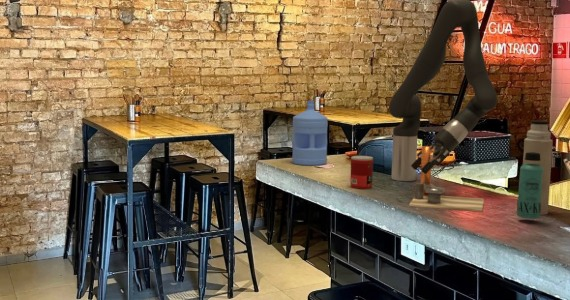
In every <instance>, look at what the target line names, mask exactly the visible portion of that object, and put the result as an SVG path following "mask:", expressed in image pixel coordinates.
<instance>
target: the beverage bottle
mask: <svg viewBox="0 0 570 300" xmlns="http://www.w3.org/2000/svg"><path fill="white" fill-rule="evenodd" d="M525 160H530V161H540V153H535V152H527V153H526V155H525ZM543 170H544V169H543V168H542V167H541V166H540V165H539V164H524V165H523V164H521V166H520V171H519V182H518V190H517V202H516V216H517V217H519V218H522V219H528V220H537V219H540V217H541V215H540V209H541V204H542V202H541V197H542V186H543V185H542V181H543Z"/></svg>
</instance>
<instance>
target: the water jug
mask: <svg viewBox="0 0 570 300" xmlns="http://www.w3.org/2000/svg"><path fill="white" fill-rule="evenodd" d="M306 103H307V104H306V110H304V111H302V112H300V113H298V114H297V115H294V116H293V117H292V143H291V144H292V157H291V162H292V163H293V164H294V165H298V166H310V167H311V166H323V165H326V164H327V163H328V162H327V161H328V158H327V157H328V126H329V125H328V117H327V116H325V115H324V114H322V113H320V112H318V111H316V110H315V104H314V103H315V101H314V100H307V101H306Z"/></svg>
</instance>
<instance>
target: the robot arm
mask: <svg viewBox="0 0 570 300" xmlns="http://www.w3.org/2000/svg"><path fill="white" fill-rule="evenodd" d="M438 14H439V15H438V16H437V18H436V21H435V23H434V26H433V28H432V30H431V32H430V34H429V36H428V38H427V39H426V41H425V43H424V45H423V47H422V49H420V52H419V54H418V56H417V57H416V59H415V61H414V63H413V65H412V67H411V68H410V70H409V72H408V74H407V75H406V77H405V78H404V80H403V82H402V83H401V85H400V86H399V87H398V88H397V90H396V91H395V93H394V94H393V95H392V97H391V99H390V100H389V101H390V102H389V105H388V110H389V113H390V115H391V116H392V117H394V118H396V119H402V121H401V122H400V123H399V124H397V126H395V127H393V130H392V152H391V153H392V154H391V155H392V156H391V157H392V158H391V162H392V163H391V180H393V181H398V182H414V181H416V180H417V179H416V177H417V174H416V173H417V169H418V168H420V172H421V171H422V172H423V173H424V174H426V173H427V172H428V171H429V170H430V169H431V170H432V168H433V167H439V166H440V165H441V164H442V162H444V160H446V159H447V158H448V156H449V155H450V154H451V153H452V152H453V151H454V150H455V148H456V147H458V146H459V145H460V144H461V142H462V141H464V139H465V138H466V137H467V135H468V134H469V133H470V132H471V131H472V130H473V129H474V128H475V127H476V126H477V124H478V122H479V121H480V120H481V119H482V117H484V116H485V115H486V114H487V113H488V112H490V111H491V110H493V109H495V107H497V104H498V94H497V91H496V89H495V87H494V85H493V83H492V81H491V79H490V76H489V73H488V68H487V66H486V62H485V58H484V55H483V51H482V41H481V36H480V35H481V34H480V27H479V19H478V10H477V7H476V5H475V4H474V2H472V1H471V0H449V1H447V2H446V3H445V4H444V5H443V6H442V8H441V10H440V12H439V13H438ZM457 28H460V30H461V32H462V35H463V38H464V39H463V40H464V45H463V47H464V48H463V56H462V63H463V64H462V65H463V70H464V73H465V76H466V79H467V82H468V85H469V86H471V87H472V89H473V92H474V95H473V97H472V98H471V99H470V100H469V101H468V102H467V104H466V105H465V106H464V107H463V109H462V110H461V111H459V112H458V113H457V114H456V115H455V116H454V117H453V118H452V119H451V120H450V121H448V122H447V124H445V125H444V126H443V128H441V129H440V130H439V131H438V133H436V135H435V136H433V141H434V143H433V144H430V142H429V143H427V144H426V145H425V146H430V147H432V152H431V155H430V160H429V162H427V163H426V164H425V165H424V166H423V167H422V168H421V157H422V149H421V150H420V151H419V152H418V153H417V151H418V132H419V129H420V127H421V116H422V115H421V114H422V103H421V99H420V97H419V95H417V94H416V93H417V92H418V91H419V90H420V89H422V88H423V87H425V86H426V85H427V84H429V83H430V82H431V81H432V80H433V79H434V78H435V77H436V76H437V74H438V73H439V71H440V70H441V69H442V67H443V64H444V63H445V60H446V56H447V45H448V44H447V43H448V41H449V39H450V37H451V36H452V34H453V32H454V31H455V30H456V29H457Z"/></svg>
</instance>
